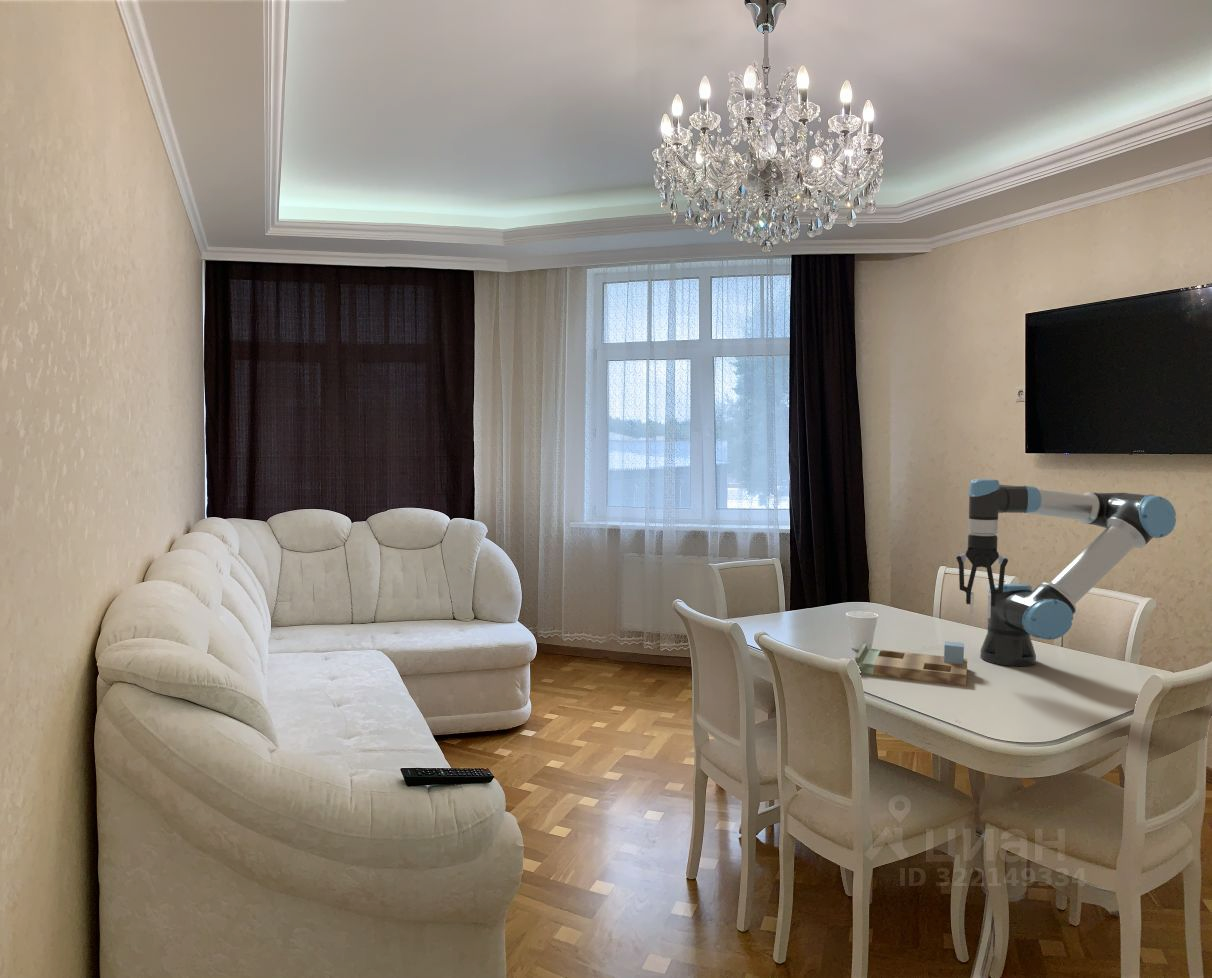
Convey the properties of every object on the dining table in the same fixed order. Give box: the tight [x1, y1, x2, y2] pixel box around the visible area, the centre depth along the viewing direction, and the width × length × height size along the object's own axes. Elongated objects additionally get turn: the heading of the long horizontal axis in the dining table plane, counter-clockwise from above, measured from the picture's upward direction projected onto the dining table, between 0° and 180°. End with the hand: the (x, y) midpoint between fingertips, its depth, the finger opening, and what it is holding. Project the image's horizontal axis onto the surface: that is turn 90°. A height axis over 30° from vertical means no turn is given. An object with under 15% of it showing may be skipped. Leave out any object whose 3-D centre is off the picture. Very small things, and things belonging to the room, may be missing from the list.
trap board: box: [854, 643, 968, 687], centre depth 237 cm, size 29×18×4 cm, turn 66°
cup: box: [845, 610, 879, 651], centre depth 262 cm, size 10×10×11 cm
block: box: [943, 640, 965, 664], centre depth 237 cm, size 5×5×5 cm
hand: (980, 616), depth 233 cm, fingers open, 4 cm apart
